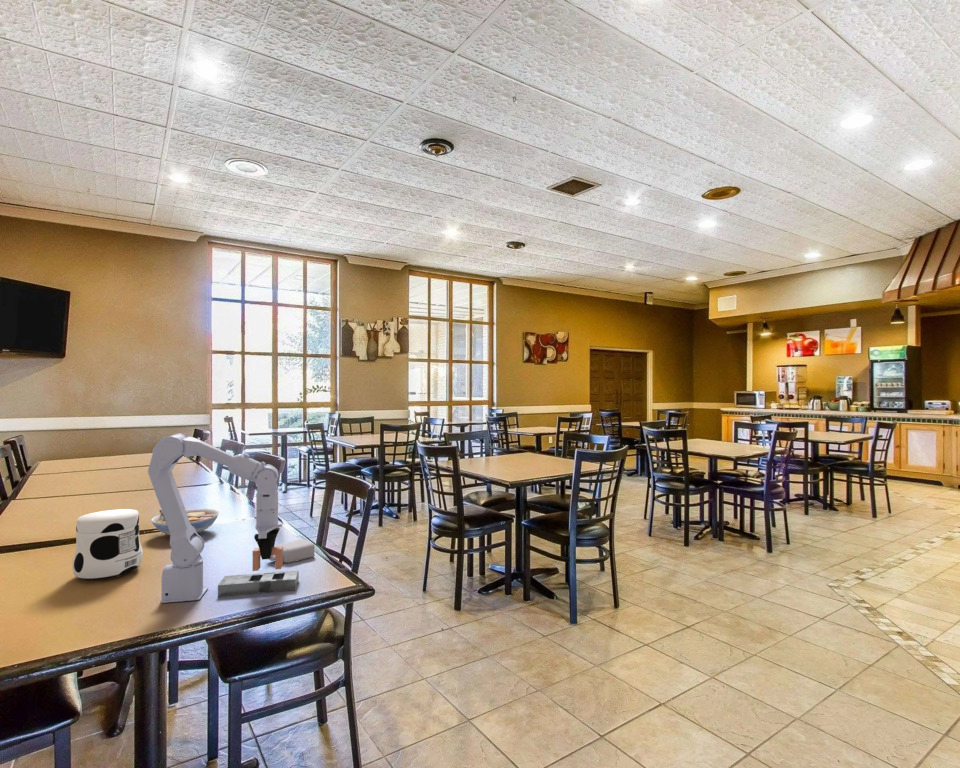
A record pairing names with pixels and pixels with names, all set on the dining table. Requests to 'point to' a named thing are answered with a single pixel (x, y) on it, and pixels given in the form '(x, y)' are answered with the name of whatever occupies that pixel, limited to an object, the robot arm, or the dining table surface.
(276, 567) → the orange u-shaped block
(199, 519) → the ramen bowl
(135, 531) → the milk container
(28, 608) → the dining table surface
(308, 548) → the charger
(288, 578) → the gray rectangular frame
